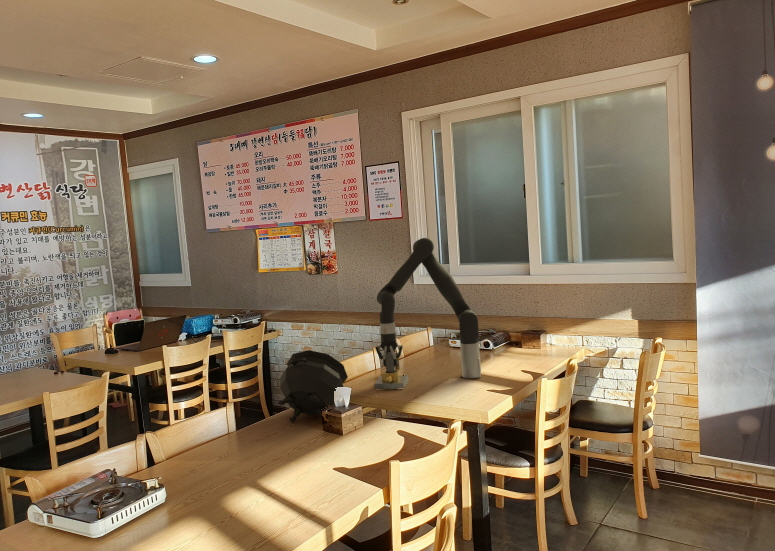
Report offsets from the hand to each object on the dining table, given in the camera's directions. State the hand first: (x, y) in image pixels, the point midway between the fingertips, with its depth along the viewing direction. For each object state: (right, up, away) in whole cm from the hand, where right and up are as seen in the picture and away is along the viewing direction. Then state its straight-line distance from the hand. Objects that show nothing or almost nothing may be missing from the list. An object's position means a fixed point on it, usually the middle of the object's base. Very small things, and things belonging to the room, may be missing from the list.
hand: (390, 366), depth 286 cm
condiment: (+3, -8, +20) cm, 21 cm away
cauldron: (-32, -16, -39) cm, 53 cm away
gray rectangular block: (0, -3, 0) cm, 3 cm away
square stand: (+1, -10, +1) cm, 10 cm away
